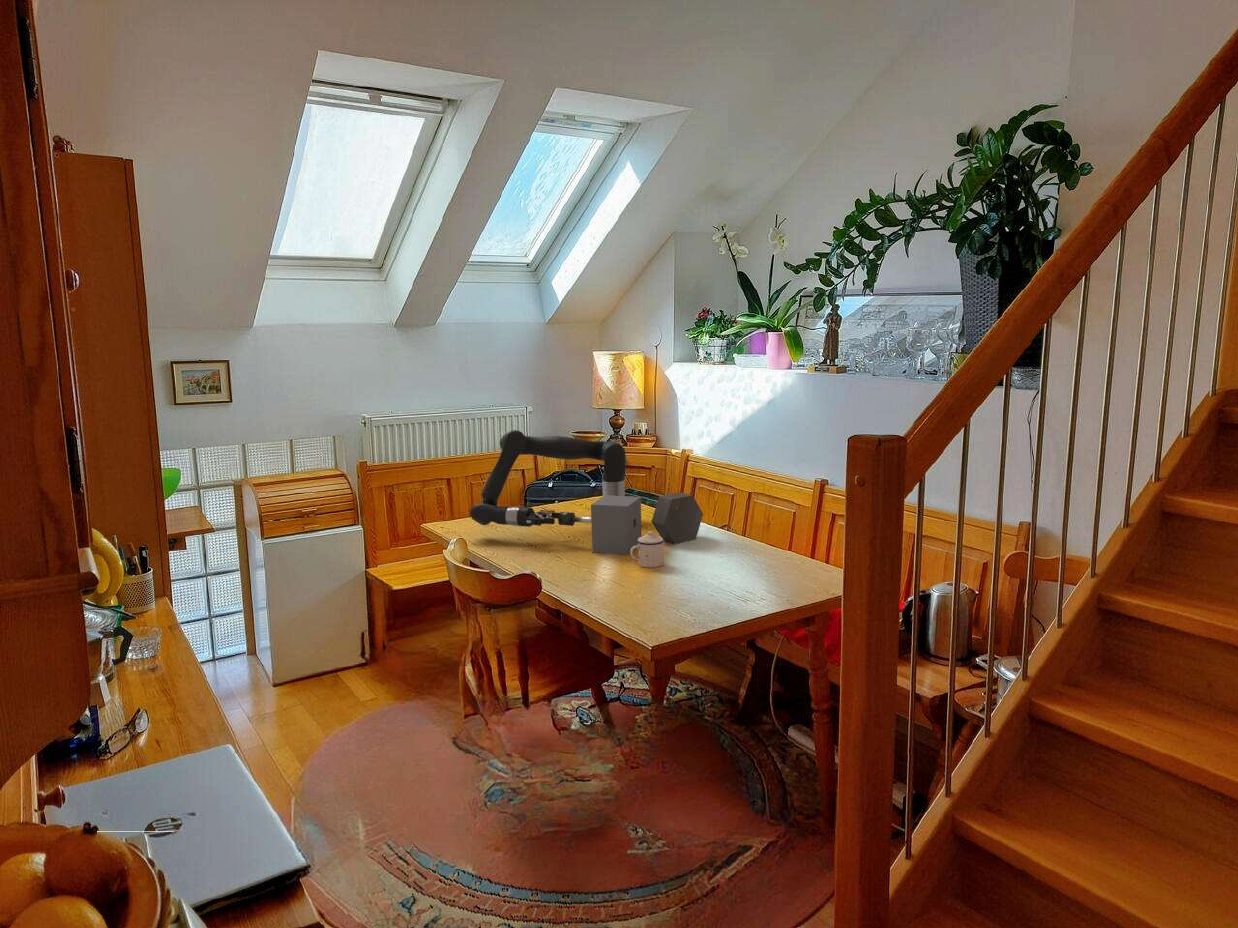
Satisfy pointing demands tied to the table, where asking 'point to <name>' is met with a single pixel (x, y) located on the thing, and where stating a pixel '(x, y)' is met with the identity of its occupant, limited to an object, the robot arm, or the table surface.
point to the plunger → (571, 519)
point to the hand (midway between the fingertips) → (558, 518)
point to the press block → (615, 524)
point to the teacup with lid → (649, 550)
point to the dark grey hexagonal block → (677, 517)
